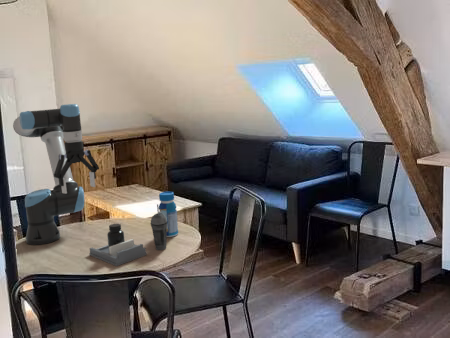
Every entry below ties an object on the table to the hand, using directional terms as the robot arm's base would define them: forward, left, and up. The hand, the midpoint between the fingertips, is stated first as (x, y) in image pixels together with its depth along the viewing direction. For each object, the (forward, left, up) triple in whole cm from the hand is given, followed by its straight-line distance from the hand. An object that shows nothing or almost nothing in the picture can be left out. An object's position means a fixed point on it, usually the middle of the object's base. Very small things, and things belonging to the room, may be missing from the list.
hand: (79, 189), depth 210 cm
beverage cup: (+28, +20, -27) cm, 44 cm away
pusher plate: (+23, +4, -25) cm, 34 cm away
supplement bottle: (+19, +4, -26) cm, 32 cm away
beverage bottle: (+17, +34, -27) cm, 47 cm away
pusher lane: (+19, +4, -27) cm, 33 cm away
